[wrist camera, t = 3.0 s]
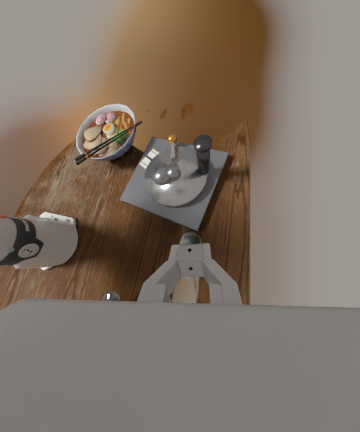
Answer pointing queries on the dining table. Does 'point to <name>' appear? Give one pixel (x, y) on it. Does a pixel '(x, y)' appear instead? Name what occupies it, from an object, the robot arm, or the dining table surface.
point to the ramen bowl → (106, 133)
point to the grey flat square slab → (181, 215)
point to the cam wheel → (179, 173)
